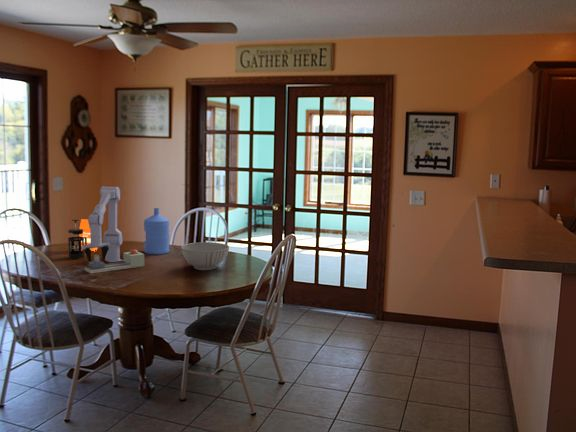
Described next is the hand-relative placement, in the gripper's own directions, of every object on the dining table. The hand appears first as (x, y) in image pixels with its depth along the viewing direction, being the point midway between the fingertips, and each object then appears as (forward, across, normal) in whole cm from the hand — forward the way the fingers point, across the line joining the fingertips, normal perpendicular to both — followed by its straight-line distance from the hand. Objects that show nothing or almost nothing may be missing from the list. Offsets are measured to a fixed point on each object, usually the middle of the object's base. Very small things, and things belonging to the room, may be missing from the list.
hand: (96, 260), depth 306 cm
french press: (+6, +3, +38) cm, 39 cm away
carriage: (+3, 0, 0) cm, 3 cm away
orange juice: (+6, +16, +54) cm, 57 cm away
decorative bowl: (+6, +52, -27) cm, 59 cm away
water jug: (+6, +49, +26) cm, 56 cm away
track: (+5, +11, 0) cm, 12 cm away
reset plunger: (0, +22, 0) cm, 22 cm away
